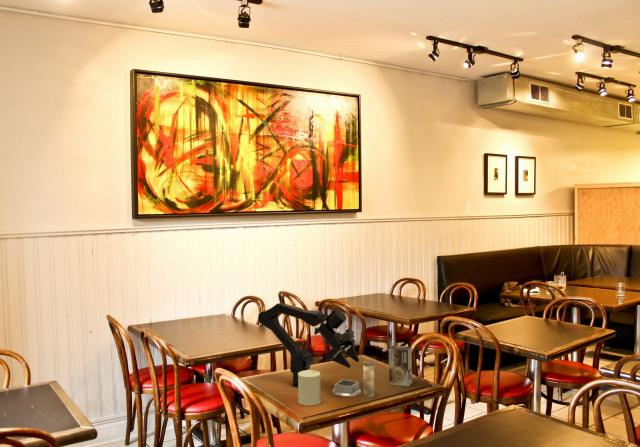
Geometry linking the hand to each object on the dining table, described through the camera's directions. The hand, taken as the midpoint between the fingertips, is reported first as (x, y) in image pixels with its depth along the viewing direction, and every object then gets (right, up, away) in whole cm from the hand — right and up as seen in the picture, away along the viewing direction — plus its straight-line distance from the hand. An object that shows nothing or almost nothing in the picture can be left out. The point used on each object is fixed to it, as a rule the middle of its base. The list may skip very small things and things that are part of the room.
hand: (354, 364), depth 230 cm
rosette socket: (-3, -12, +2) cm, 13 cm away
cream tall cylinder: (+6, -12, -3) cm, 14 cm away
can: (-19, -13, -9) cm, 24 cm away
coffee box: (+21, -12, +13) cm, 28 cm away
